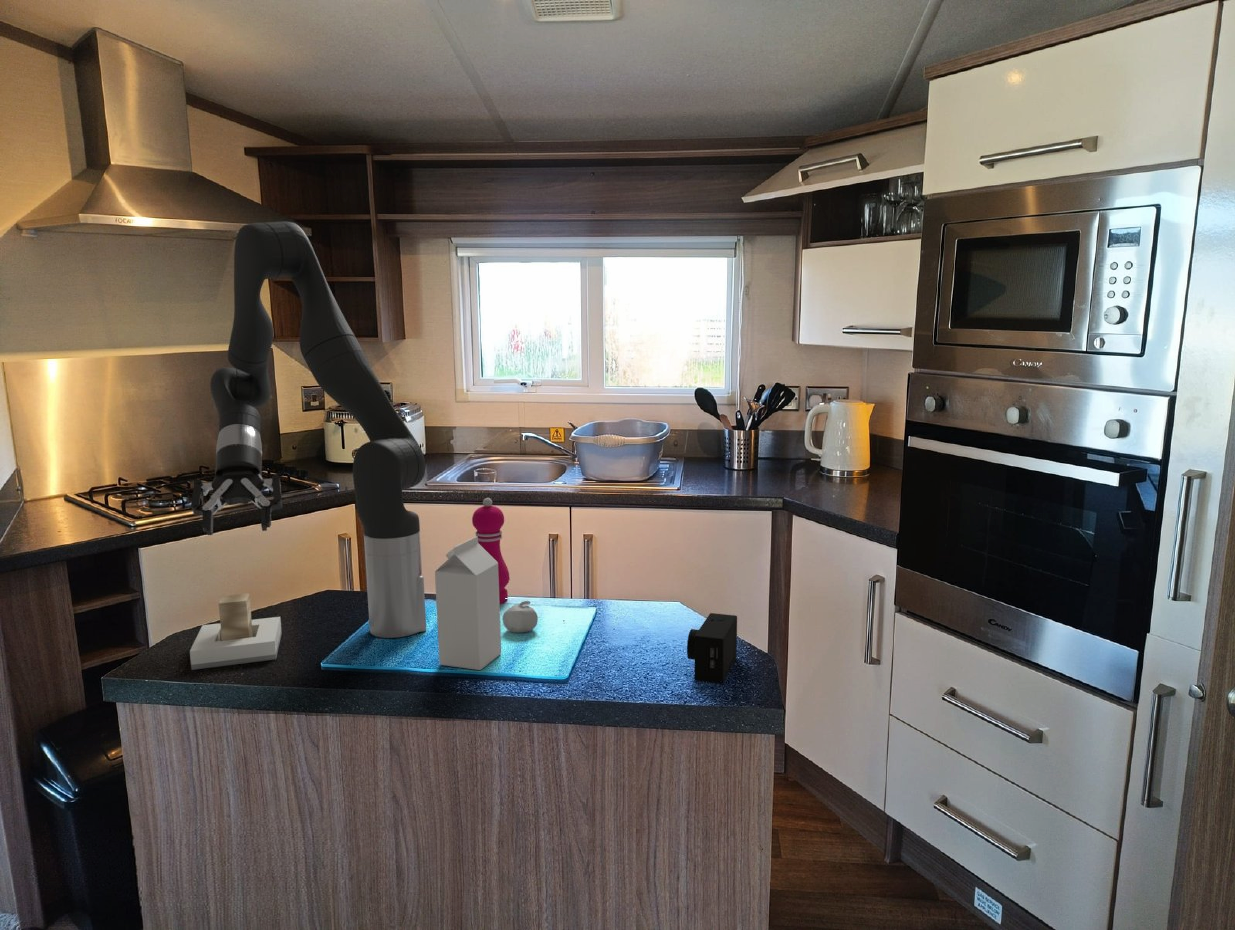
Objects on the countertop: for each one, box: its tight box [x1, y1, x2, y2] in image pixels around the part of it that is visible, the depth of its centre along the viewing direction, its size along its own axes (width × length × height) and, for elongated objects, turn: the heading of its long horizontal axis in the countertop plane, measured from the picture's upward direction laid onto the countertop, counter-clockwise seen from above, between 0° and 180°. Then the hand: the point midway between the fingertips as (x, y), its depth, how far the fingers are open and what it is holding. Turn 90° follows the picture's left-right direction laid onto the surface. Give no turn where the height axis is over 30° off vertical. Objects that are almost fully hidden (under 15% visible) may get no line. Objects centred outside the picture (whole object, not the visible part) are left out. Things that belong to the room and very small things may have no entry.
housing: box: [189, 616, 283, 671], centre depth 131 cm, size 12×12×3 cm
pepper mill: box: [471, 497, 510, 605], centre depth 153 cm, size 7×7×20 cm
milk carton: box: [434, 535, 502, 671], centre depth 125 cm, size 7×7×19 cm
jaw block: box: [218, 592, 253, 641], centre depth 131 cm, size 4×4×8 cm
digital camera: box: [686, 612, 738, 685], centre depth 121 cm, size 10×5×7 cm, turn 161°
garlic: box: [502, 600, 539, 634], centre depth 138 cm, size 6×5×5 cm
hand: (237, 530), depth 138 cm, fingers open, 8 cm apart
